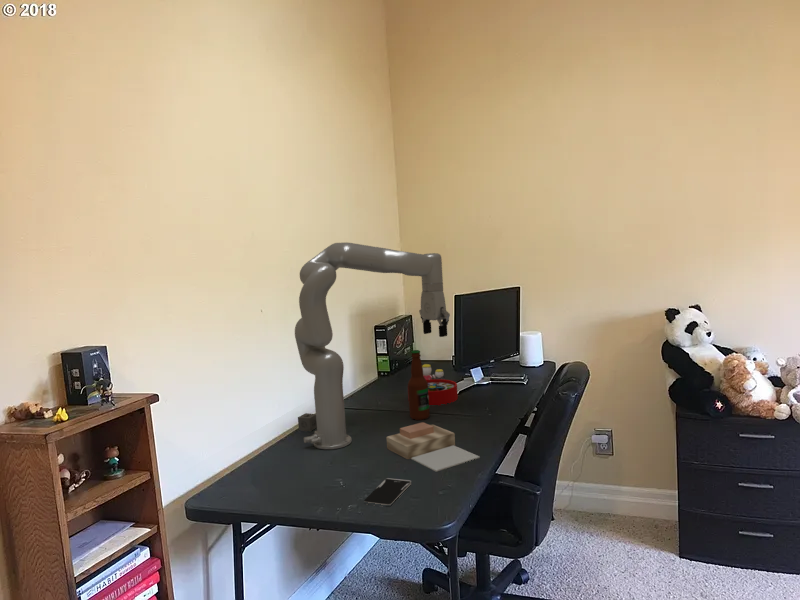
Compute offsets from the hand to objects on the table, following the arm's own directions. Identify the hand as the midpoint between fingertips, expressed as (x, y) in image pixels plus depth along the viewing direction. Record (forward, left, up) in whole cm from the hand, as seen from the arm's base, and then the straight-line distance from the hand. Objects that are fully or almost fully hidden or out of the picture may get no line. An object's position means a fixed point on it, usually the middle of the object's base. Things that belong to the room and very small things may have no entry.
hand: (435, 334), depth 227 cm
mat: (-23, -35, -30) cm, 52 cm away
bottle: (-6, +4, -31) cm, 31 cm away
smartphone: (-49, -45, -31) cm, 74 cm away
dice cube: (-43, +21, -31) cm, 57 cm away
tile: (-23, -20, -26) cm, 41 cm away
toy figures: (+27, +43, -31) cm, 59 cm away
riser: (-23, -22, -30) cm, 44 cm away
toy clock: (+12, +21, -31) cm, 39 cm away
